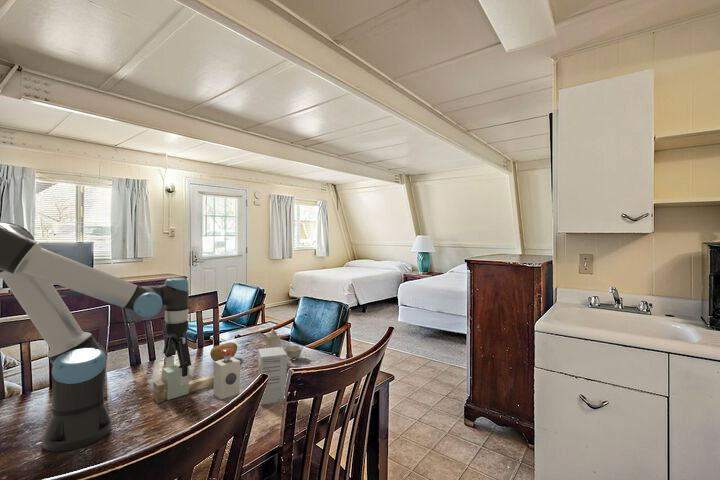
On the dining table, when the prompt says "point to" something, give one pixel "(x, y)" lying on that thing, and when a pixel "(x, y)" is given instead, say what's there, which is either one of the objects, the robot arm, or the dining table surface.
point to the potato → (216, 350)
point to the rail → (194, 385)
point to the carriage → (173, 382)
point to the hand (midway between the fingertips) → (176, 379)
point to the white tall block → (226, 378)
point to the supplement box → (273, 373)
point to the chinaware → (274, 341)
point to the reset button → (227, 354)
